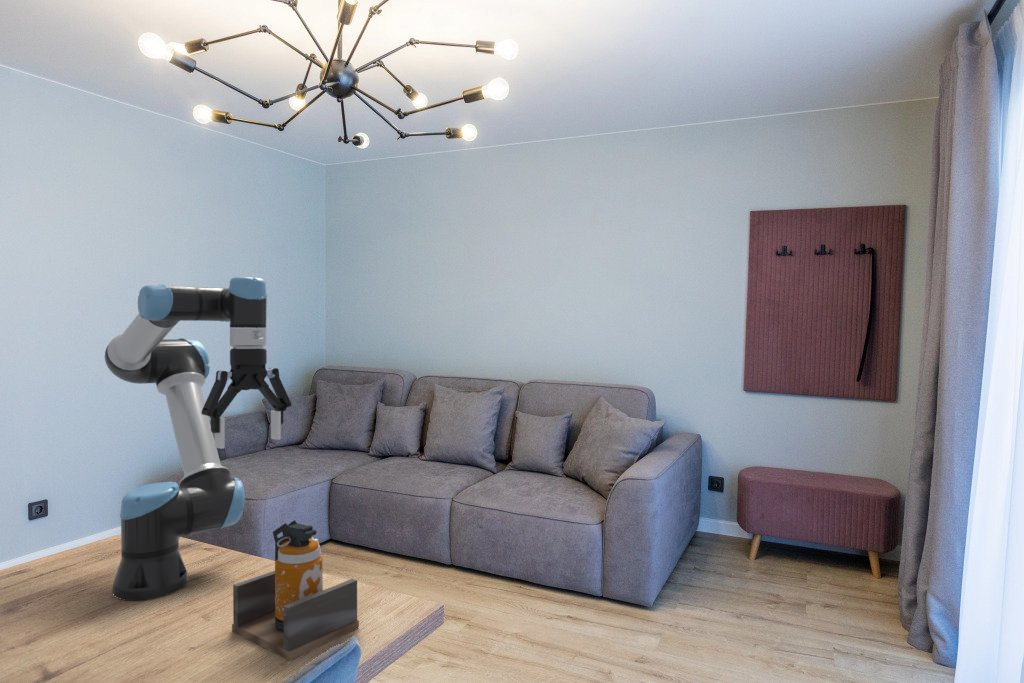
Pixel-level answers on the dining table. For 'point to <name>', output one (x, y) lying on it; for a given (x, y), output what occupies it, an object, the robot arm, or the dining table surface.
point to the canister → (295, 566)
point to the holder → (293, 616)
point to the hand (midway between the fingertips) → (248, 443)
